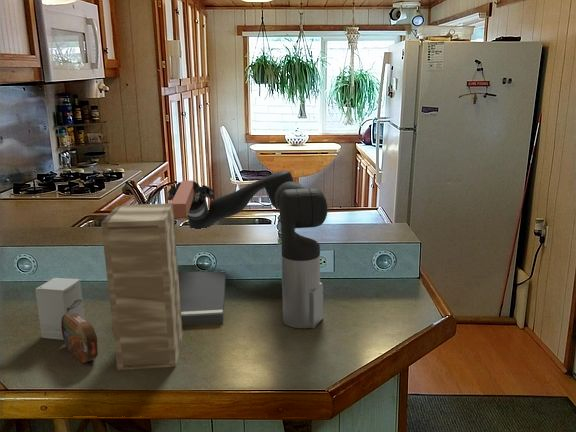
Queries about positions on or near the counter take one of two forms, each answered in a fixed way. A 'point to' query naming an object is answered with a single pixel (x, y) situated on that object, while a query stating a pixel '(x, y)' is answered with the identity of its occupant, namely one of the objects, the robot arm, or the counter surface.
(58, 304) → the supplement box
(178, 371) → the counter surface
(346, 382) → the counter surface
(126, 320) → the shelf stand
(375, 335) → the counter surface
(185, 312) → the mat
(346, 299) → the counter surface
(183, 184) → the bar
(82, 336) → the tin
